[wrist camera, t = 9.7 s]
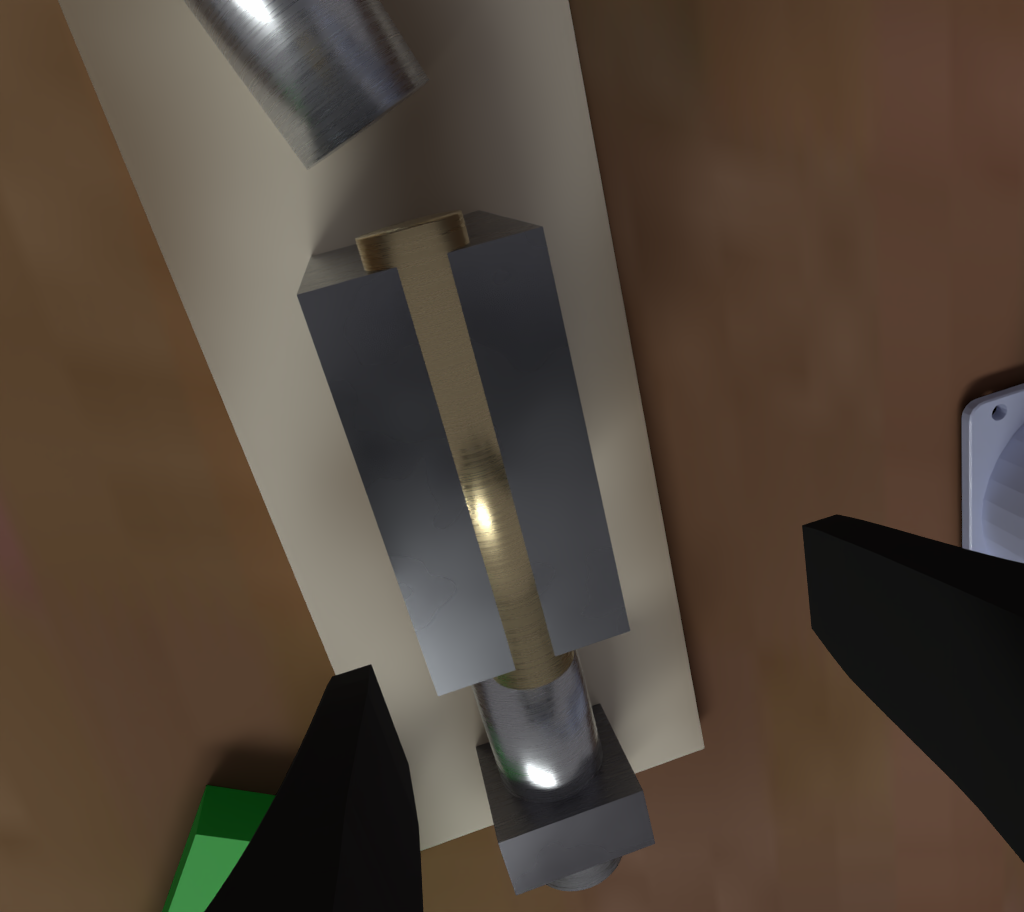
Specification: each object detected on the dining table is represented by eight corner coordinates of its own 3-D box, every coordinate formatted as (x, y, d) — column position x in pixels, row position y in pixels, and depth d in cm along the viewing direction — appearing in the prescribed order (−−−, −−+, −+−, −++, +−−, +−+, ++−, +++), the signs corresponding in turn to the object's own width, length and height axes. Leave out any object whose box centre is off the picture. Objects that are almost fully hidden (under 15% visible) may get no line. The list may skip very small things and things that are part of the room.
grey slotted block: (474, 188, 17) (537, 194, 12) (557, 525, 21) (636, 653, 15) (303, 234, 17) (284, 262, 11) (416, 570, 20) (445, 719, 15)
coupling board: (492, -350, 15) (500, -377, 14) (693, 731, 26) (704, 748, 25) (-34, -250, 14) (-55, -274, 13) (407, 834, 24) (409, 854, 24)
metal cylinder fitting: (435, 626, 21) (452, 709, 18) (570, 581, 22) (611, 655, 18) (502, 828, 24) (528, 931, 21) (620, 786, 25) (663, 880, 21)
